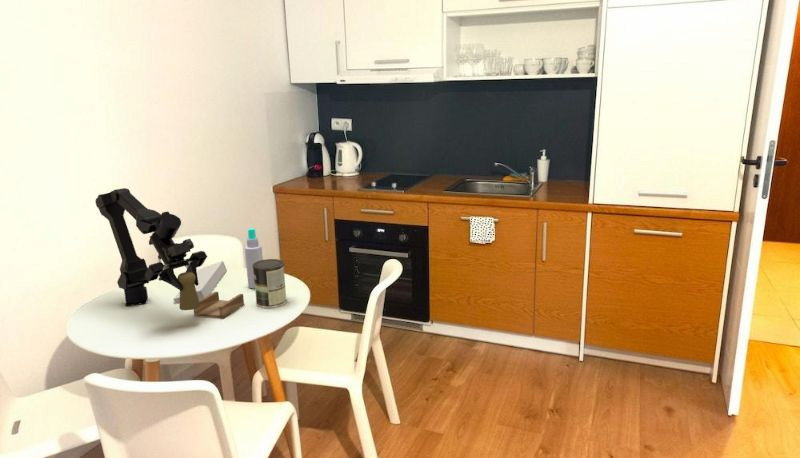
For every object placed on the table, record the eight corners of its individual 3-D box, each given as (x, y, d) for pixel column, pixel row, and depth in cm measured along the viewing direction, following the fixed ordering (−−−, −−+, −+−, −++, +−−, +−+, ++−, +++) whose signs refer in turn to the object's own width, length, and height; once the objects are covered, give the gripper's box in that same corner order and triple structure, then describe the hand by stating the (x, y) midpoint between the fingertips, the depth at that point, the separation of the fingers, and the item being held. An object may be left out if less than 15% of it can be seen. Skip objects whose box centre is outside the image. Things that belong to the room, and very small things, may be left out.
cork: (179, 304, 177) (174, 271, 174) (199, 301, 180) (195, 268, 177) (180, 311, 172) (175, 277, 169) (200, 308, 174) (196, 274, 171)
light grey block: (178, 311, 195) (206, 302, 195) (173, 299, 194) (200, 290, 194) (204, 279, 228) (227, 271, 228) (199, 268, 227) (223, 261, 227)
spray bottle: (258, 282, 213) (253, 226, 208) (268, 285, 209) (263, 228, 204) (245, 287, 209) (239, 229, 203) (254, 290, 205) (249, 231, 200)
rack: (194, 315, 183) (192, 304, 182) (216, 302, 194) (215, 291, 193) (223, 318, 180) (222, 307, 179) (244, 305, 191) (243, 294, 190)
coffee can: (253, 309, 187) (249, 268, 184) (259, 298, 197) (255, 259, 194) (284, 307, 188) (281, 267, 185) (288, 296, 198) (285, 258, 195)
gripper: (144, 239, 165) (170, 282, 161) (200, 226, 179) (225, 265, 176) (134, 260, 172) (158, 302, 168) (189, 246, 186) (212, 284, 182)
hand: (190, 287), depth 173 cm, fingers closed on cork, 5 cm apart
